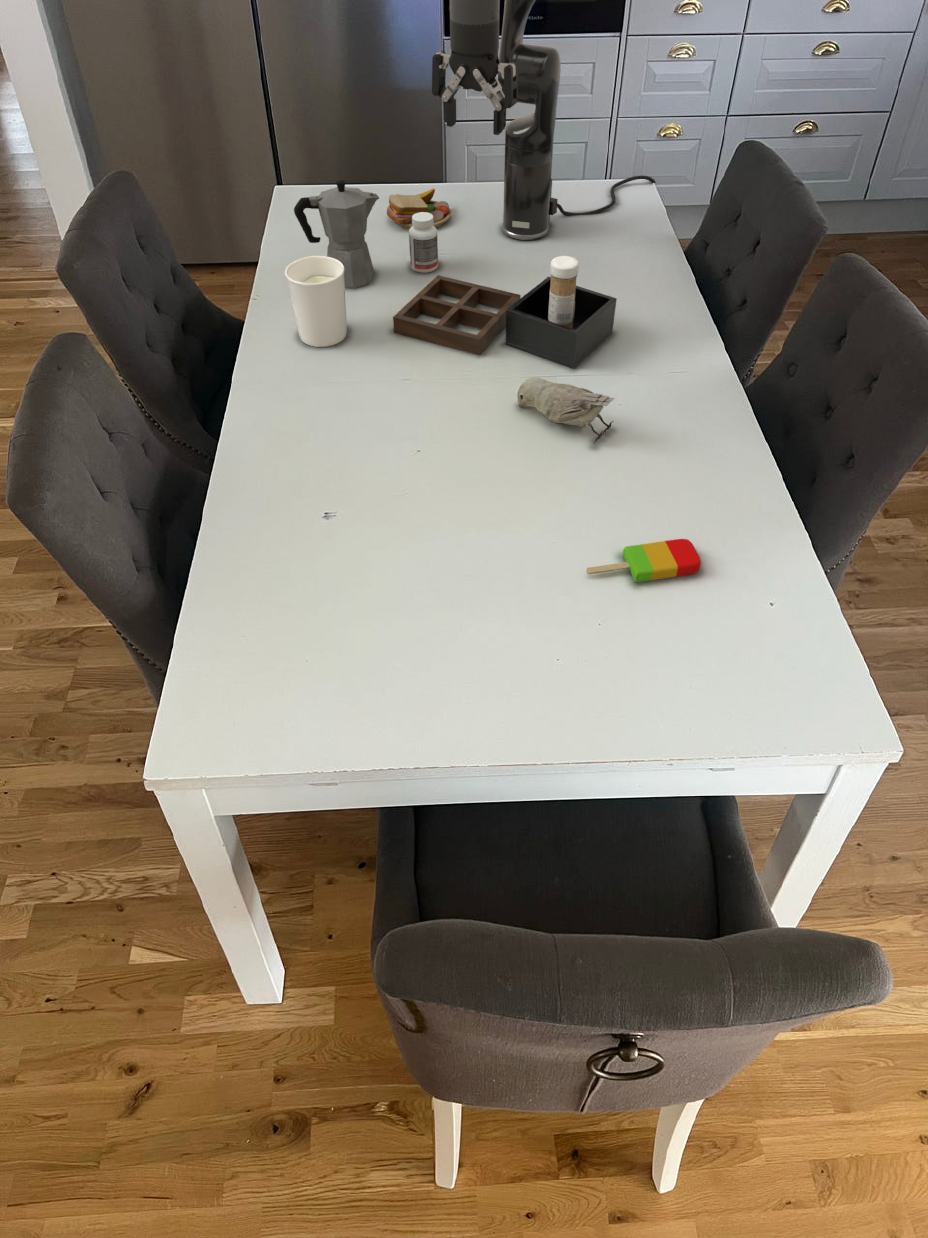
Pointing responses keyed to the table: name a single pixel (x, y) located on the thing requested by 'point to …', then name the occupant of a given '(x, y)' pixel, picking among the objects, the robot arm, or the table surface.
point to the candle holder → (318, 299)
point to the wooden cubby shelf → (455, 314)
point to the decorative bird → (563, 402)
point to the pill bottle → (423, 243)
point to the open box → (554, 340)
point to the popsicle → (656, 560)
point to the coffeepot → (343, 228)
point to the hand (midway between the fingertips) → (474, 128)
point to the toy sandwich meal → (417, 208)
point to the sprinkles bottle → (562, 290)
